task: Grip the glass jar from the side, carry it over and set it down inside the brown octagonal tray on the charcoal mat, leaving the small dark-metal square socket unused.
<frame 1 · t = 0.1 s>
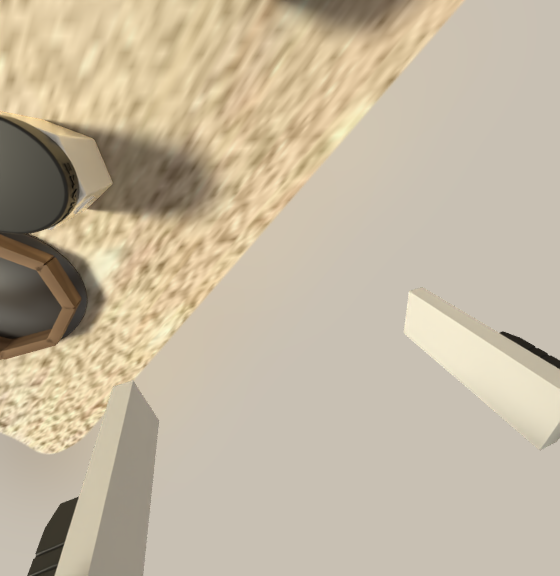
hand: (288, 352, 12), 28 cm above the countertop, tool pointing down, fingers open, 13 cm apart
brown octagonal tray: (4, 292, 32), on the countertop
jar: (66, 167, 29), on the countertop
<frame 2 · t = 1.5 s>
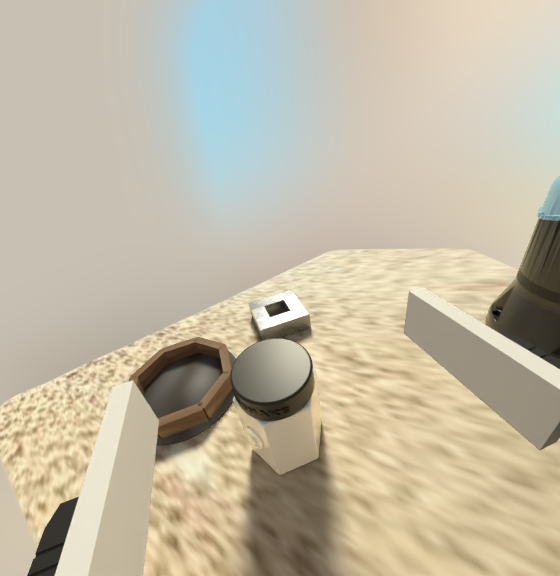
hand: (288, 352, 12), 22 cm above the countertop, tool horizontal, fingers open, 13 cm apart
square socket: (279, 320, 50), on the countertop
brown octagonal tray: (186, 387, 40), on the countertop
jar: (288, 435, 32), on the countertop
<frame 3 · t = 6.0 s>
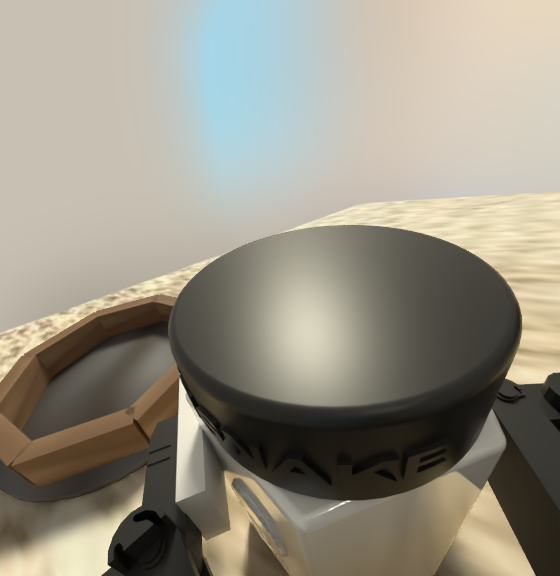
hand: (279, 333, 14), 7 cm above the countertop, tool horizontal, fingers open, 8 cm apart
brown octagonal tray: (126, 376, 22), on the countertop
jar: (337, 486, 13), on the countertop, touching gripper
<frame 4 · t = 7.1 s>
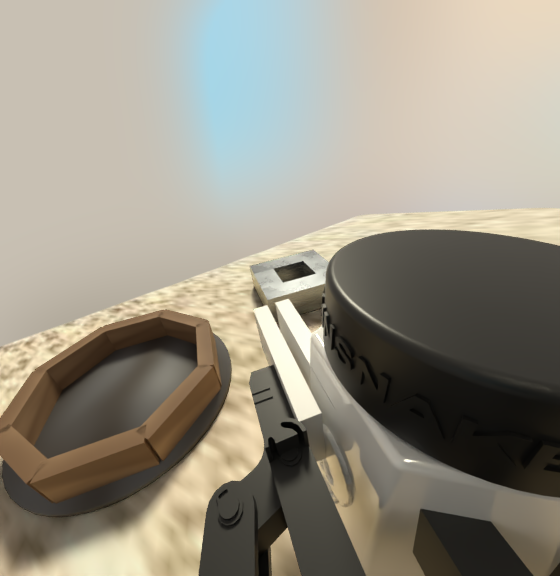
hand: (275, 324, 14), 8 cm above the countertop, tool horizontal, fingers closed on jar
square socket: (296, 292, 33), on the countertop
brown octagonal tray: (133, 391, 22), on the countertop
jar: (399, 495, 13), point 1 cm above the countertop, touching gripper
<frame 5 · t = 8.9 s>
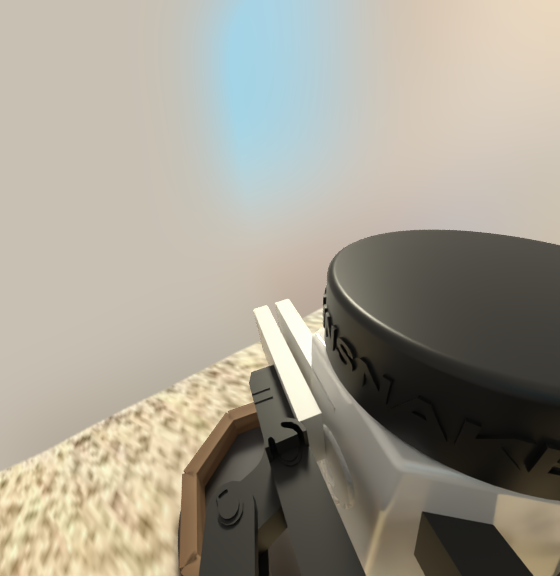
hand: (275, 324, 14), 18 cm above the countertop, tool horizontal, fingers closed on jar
brown octagonal tray: (279, 493, 23), on the countertop
jar: (400, 497, 13), point 11 cm above the countertop, touching gripper
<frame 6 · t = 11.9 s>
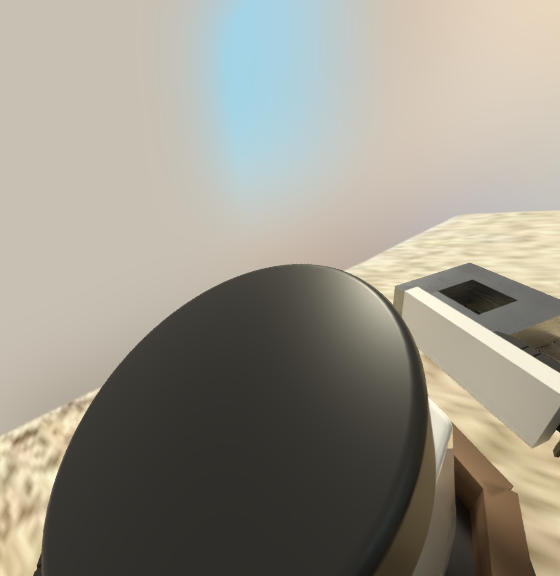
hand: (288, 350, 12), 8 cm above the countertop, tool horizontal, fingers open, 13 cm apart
square socket: (467, 322, 24), on the countertop
brown octagonal tray: (328, 509, 14), on the countertop
jar: (348, 515, 13), point 1 cm above the countertop, touching brown octagonal tray
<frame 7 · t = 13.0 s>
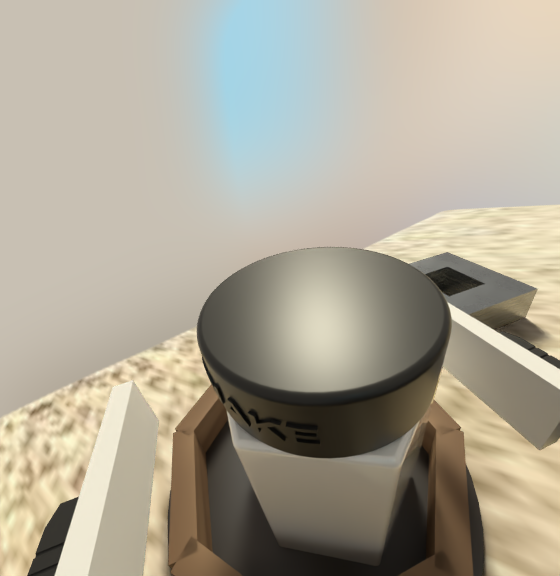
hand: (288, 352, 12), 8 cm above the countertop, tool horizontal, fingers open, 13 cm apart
square socket: (442, 305, 26), on the countertop
brown octagonal tray: (311, 456, 16), on the countertop
jar: (328, 465, 15), resting on brown octagonal tray
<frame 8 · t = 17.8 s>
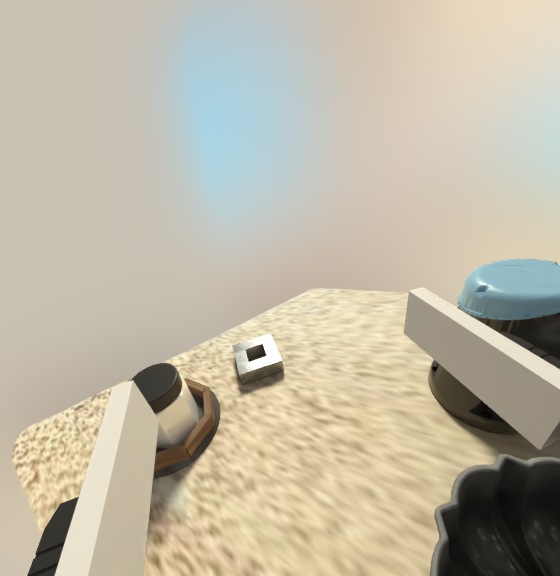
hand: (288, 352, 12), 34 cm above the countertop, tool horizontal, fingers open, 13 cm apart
square socket: (258, 362, 58), on the countertop
brown octagonal tray: (174, 424, 48), on the countertop
jar: (177, 427, 47), resting on brown octagonal tray
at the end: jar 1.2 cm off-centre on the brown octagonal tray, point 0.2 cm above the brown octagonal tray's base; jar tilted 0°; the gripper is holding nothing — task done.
